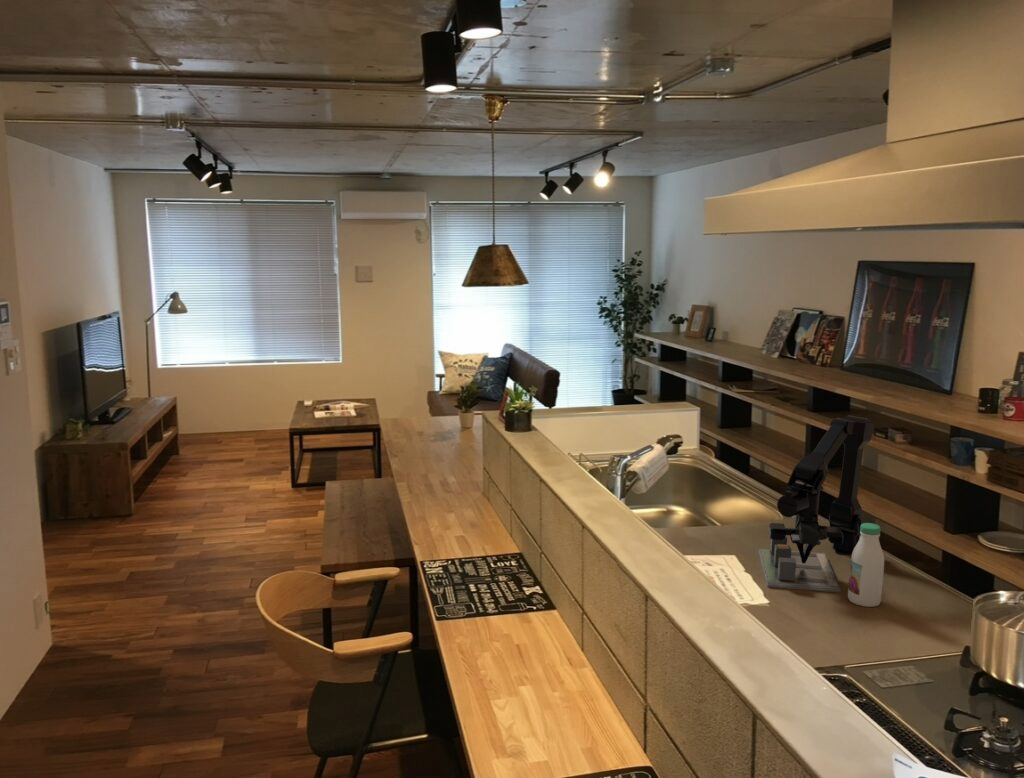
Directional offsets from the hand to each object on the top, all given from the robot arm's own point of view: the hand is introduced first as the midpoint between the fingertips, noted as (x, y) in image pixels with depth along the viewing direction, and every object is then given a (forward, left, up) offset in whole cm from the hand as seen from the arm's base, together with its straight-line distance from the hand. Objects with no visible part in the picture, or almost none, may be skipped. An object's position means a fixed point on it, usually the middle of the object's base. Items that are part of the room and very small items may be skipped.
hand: (803, 562), depth 229 cm
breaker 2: (+6, +9, -1) cm, 11 cm away
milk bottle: (-12, +16, -3) cm, 21 cm away
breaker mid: (+6, 0, -1) cm, 6 cm away
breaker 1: (+6, -9, -1) cm, 11 cm away
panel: (+2, +1, -2) cm, 3 cm away
